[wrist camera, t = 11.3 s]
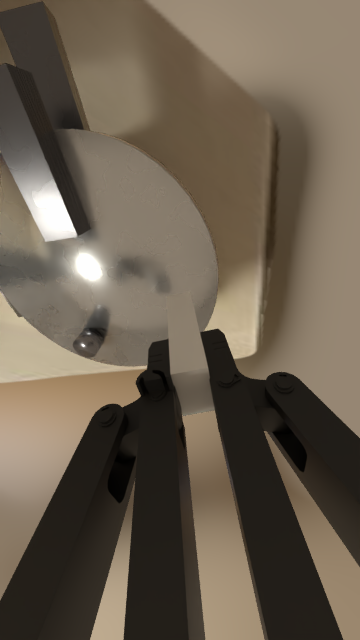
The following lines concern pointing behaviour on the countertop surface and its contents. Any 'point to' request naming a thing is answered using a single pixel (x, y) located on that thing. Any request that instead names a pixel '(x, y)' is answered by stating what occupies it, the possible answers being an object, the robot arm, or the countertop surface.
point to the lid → (94, 234)
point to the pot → (44, 63)
